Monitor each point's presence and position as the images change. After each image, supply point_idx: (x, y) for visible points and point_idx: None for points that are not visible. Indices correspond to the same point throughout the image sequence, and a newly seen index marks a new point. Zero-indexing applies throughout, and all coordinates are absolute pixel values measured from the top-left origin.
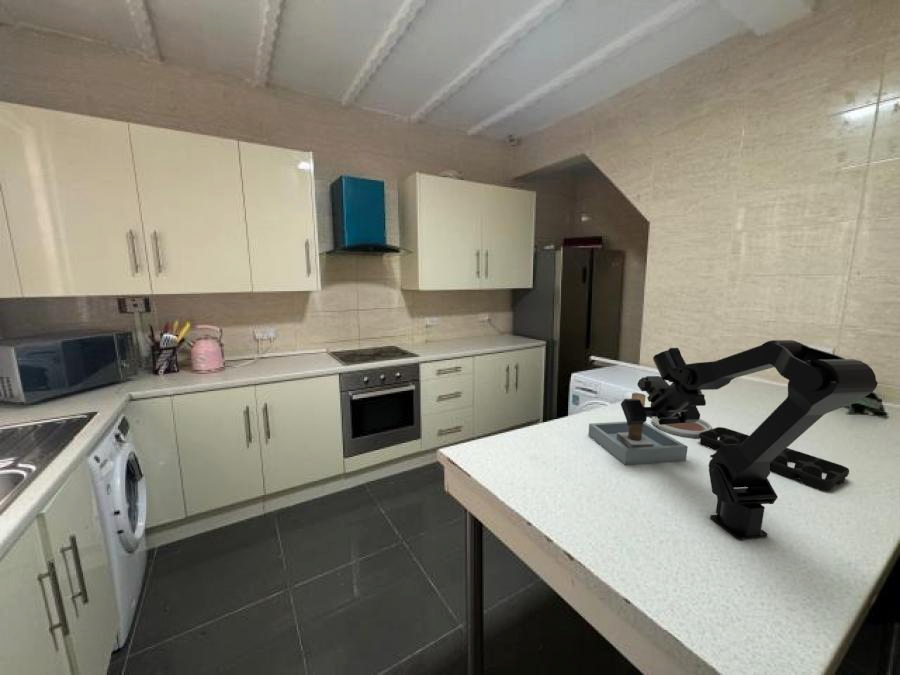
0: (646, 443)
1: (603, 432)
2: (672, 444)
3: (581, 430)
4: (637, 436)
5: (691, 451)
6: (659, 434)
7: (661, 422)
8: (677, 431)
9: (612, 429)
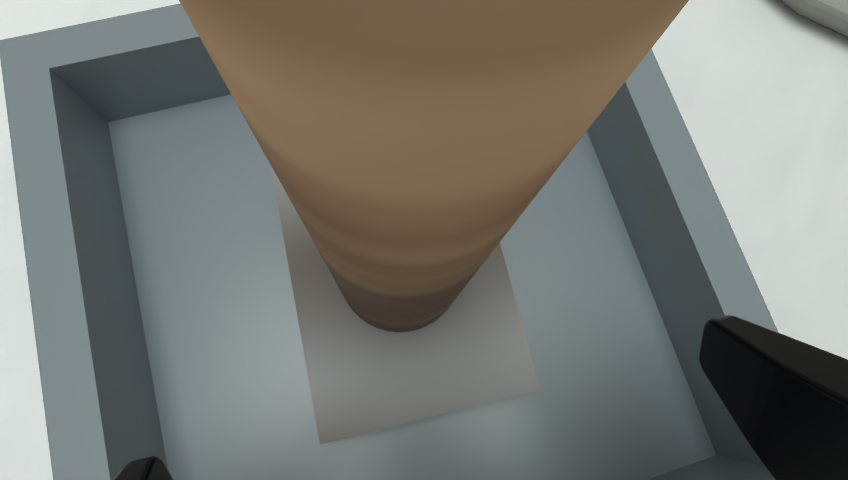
0: (474, 384)
1: (53, 261)
2: None
3: (62, 12)
4: (402, 328)
5: (840, 293)
6: (662, 194)
7: (742, 396)
8: (840, 8)
9: None
